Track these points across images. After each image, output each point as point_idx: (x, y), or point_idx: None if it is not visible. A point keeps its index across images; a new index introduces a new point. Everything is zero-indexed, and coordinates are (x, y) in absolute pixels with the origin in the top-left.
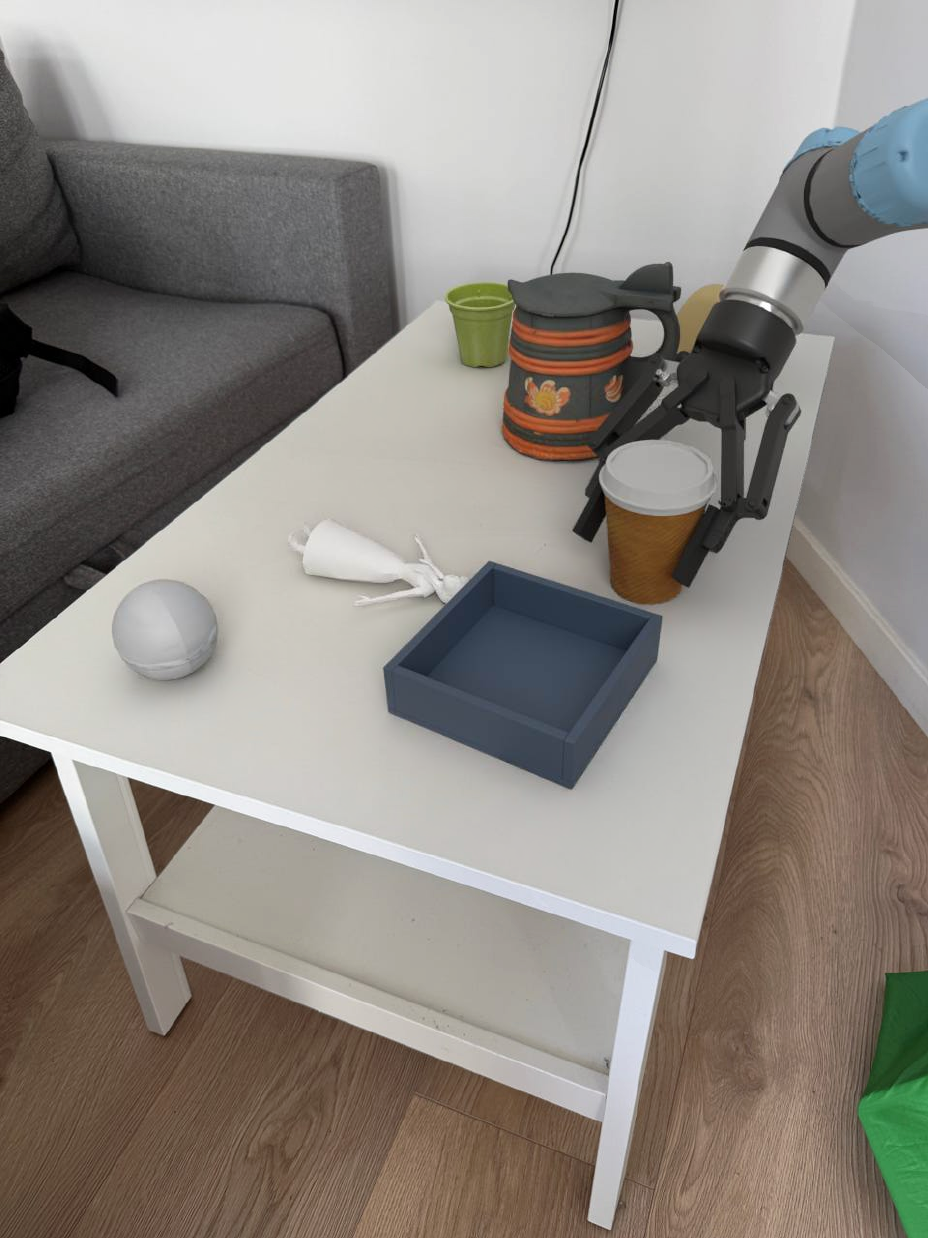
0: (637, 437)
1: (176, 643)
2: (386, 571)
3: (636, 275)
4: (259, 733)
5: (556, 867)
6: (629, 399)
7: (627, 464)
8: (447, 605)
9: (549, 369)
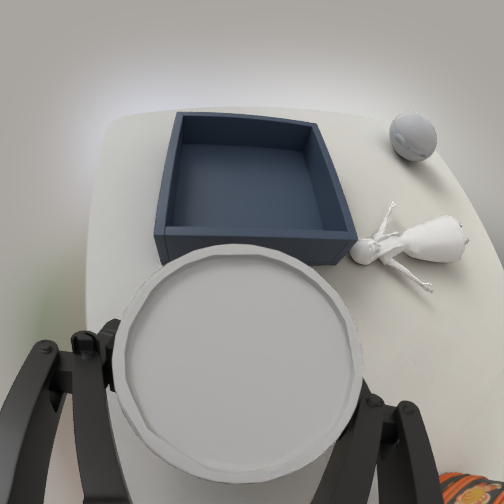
0: (350, 445)
1: (396, 118)
2: (407, 230)
3: None
4: (340, 130)
5: (168, 116)
6: (428, 490)
7: (312, 340)
8: (335, 175)
9: (499, 500)
